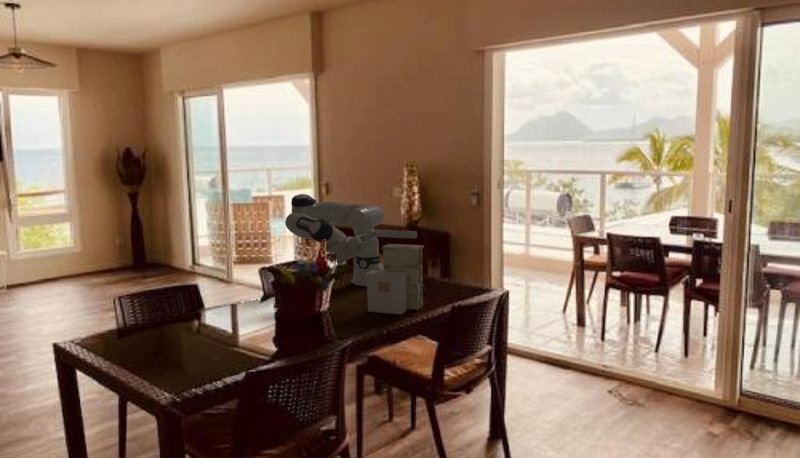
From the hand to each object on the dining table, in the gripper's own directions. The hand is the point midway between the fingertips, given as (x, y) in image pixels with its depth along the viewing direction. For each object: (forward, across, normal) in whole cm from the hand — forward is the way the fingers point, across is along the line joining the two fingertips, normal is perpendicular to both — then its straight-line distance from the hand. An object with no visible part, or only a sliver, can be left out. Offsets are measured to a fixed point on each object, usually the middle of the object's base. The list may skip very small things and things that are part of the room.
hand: (375, 232), depth 258 cm
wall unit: (-5, 0, +34) cm, 34 cm away
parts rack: (-9, -9, +32) cm, 34 cm away
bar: (+5, 0, +5) cm, 7 cm away
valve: (-6, +13, +33) cm, 36 cm away
